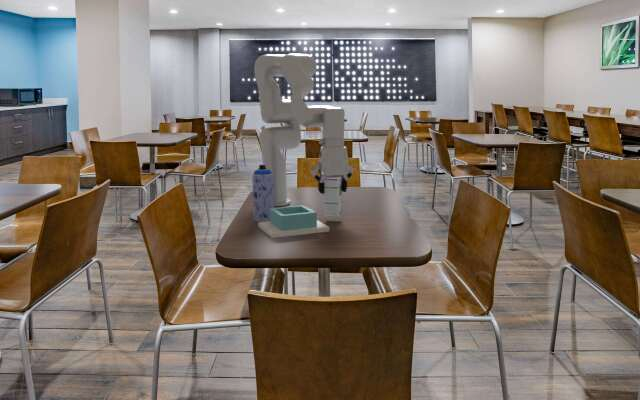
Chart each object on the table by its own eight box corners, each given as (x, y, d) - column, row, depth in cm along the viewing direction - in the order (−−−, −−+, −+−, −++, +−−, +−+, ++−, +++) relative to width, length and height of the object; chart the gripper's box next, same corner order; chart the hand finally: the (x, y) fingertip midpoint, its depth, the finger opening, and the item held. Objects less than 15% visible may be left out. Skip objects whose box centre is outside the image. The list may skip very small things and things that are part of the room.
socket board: (258, 226, 187) (257, 208, 186) (311, 220, 194) (311, 203, 193) (272, 238, 173) (271, 218, 171) (329, 231, 180) (329, 212, 179)
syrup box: (339, 217, 191) (340, 177, 187) (322, 216, 192) (323, 176, 188) (341, 213, 196) (342, 174, 193) (325, 212, 197) (326, 173, 194)
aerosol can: (250, 217, 200) (248, 164, 196) (270, 215, 203) (269, 163, 199) (256, 222, 193) (254, 167, 189) (277, 220, 196) (276, 165, 192)
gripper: (314, 145, 181) (313, 196, 185) (360, 143, 188) (359, 192, 192) (306, 142, 188) (306, 191, 192) (351, 140, 195) (350, 188, 198)
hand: (332, 191), depth 192 cm, fingers closed on syrup box, 7 cm apart
